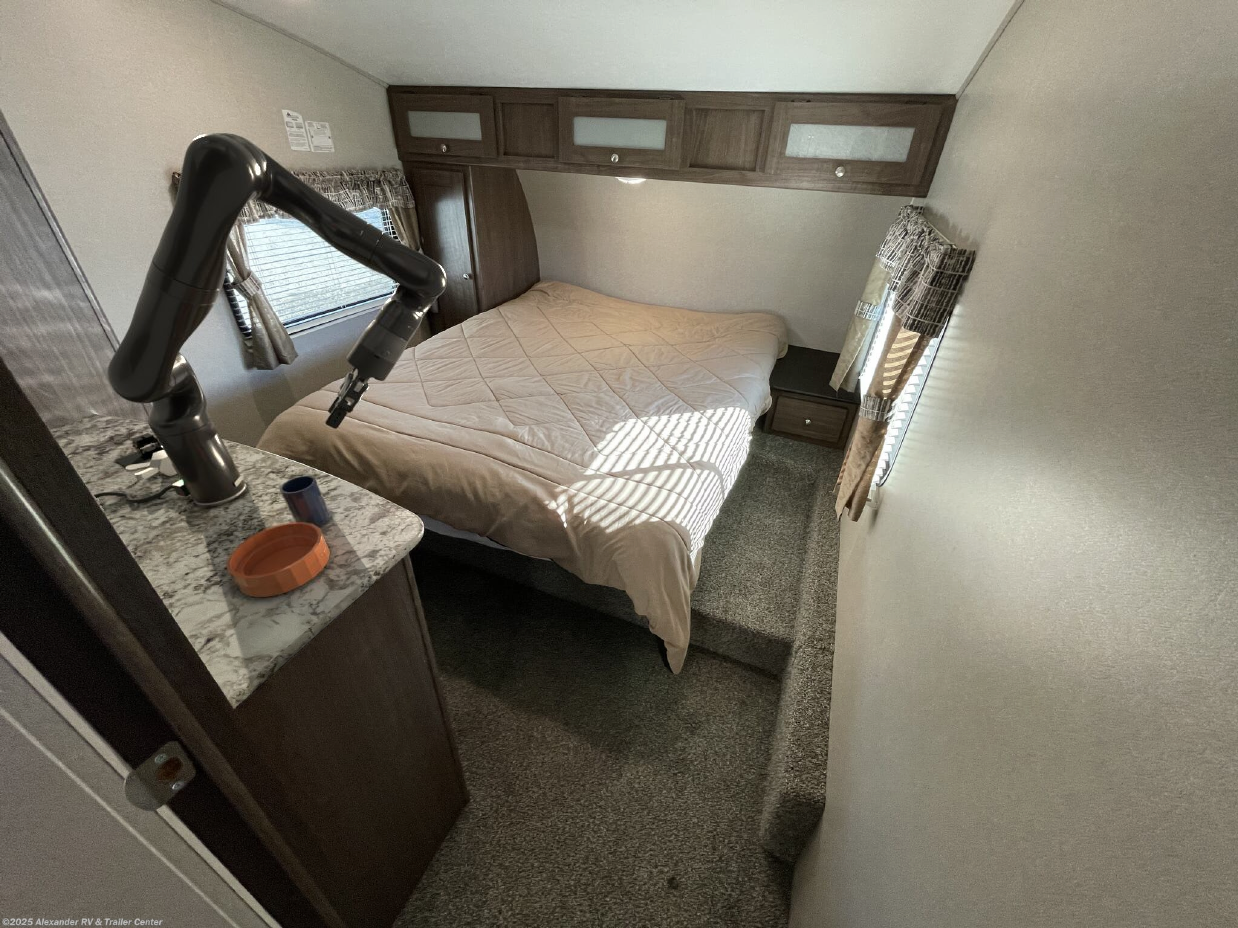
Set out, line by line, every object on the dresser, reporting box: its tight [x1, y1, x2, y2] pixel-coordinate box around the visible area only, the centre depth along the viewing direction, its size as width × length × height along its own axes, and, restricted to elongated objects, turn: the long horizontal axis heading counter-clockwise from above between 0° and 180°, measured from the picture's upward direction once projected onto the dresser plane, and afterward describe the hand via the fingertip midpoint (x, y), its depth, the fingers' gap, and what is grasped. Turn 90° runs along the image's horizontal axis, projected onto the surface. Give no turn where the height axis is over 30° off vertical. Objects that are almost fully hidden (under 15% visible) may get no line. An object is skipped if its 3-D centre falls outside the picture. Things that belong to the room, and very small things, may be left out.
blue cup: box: [279, 475, 331, 528], centre depth 96 cm, size 6×6×9 cm
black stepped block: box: [114, 432, 164, 468], centre depth 122 cm, size 12×7×5 cm, turn 151°
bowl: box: [226, 521, 331, 598], centre depth 86 cm, size 14×14×5 cm
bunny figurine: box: [125, 450, 178, 481], centre depth 115 cm, size 10×5×15 cm
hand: (331, 420), depth 94 cm, fingers open, 8 cm apart
